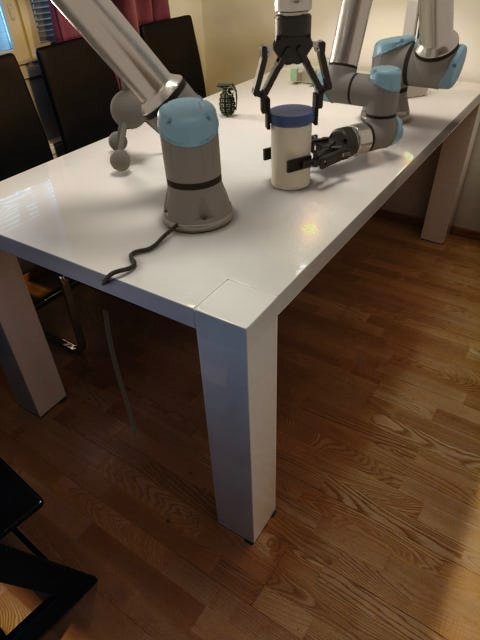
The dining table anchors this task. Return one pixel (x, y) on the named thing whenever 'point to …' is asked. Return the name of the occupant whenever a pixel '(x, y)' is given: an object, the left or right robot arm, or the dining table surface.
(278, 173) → the jar
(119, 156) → the molecular model
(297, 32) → the left robot arm
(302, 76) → the decorative block
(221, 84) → the grenade
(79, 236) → the dining table surface
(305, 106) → the lid
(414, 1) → the electronic device
